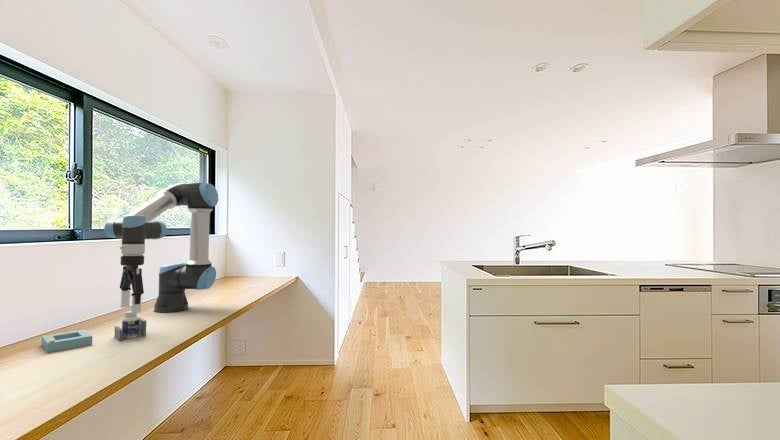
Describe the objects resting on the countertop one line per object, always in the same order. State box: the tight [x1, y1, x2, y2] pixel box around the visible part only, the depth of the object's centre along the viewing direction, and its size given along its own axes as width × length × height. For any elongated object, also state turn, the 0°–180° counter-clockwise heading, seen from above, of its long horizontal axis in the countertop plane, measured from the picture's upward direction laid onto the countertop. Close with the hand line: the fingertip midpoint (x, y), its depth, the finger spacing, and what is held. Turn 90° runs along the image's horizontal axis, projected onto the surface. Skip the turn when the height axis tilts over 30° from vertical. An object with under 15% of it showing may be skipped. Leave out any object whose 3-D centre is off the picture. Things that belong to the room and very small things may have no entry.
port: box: [41, 329, 93, 353], centre depth 134 cm, size 12×12×4 cm
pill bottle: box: [121, 309, 140, 339], centre depth 145 cm, size 5×5×10 cm
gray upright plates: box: [114, 317, 147, 342], centre depth 145 cm, size 8×7×6 cm
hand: (130, 310), depth 145 cm, fingers open, 13 cm apart
